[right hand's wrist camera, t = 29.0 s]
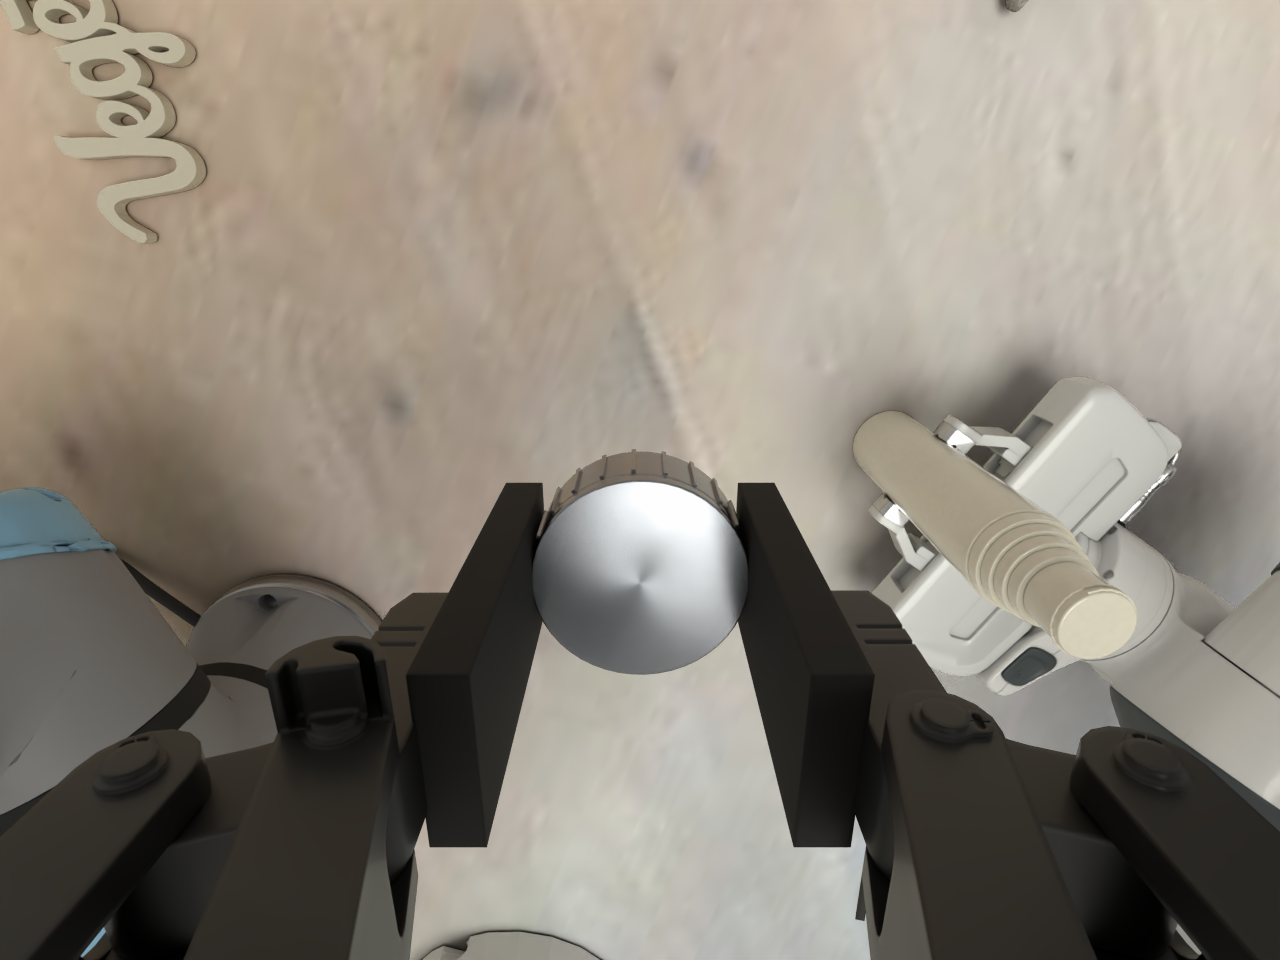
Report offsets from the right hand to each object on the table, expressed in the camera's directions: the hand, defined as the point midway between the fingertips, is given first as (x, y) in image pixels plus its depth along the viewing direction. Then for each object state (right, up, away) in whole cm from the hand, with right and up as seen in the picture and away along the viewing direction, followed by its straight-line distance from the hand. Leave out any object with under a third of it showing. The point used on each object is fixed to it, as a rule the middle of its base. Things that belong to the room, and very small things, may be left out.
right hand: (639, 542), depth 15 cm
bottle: (+17, +4, +33) cm, 38 cm away
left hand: (+16, +2, +27) cm, 32 cm away
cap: (0, 0, -1) cm, 1 cm away
